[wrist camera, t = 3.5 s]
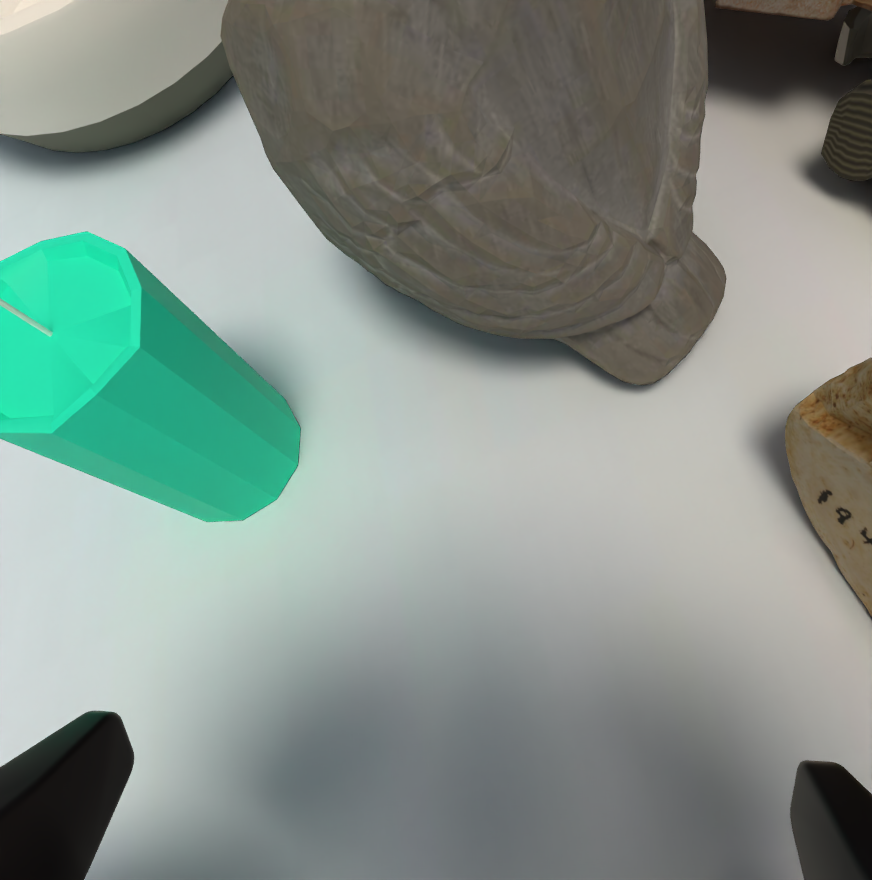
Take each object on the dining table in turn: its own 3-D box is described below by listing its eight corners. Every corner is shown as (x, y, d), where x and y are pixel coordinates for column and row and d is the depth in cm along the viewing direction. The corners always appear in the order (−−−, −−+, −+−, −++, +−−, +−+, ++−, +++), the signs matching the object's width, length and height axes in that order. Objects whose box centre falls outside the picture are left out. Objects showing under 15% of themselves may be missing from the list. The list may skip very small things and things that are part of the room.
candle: (143, 506, 26) (-166, 388, 15) (196, 373, 28) (-50, 181, 17) (273, 538, 25) (33, 433, 14) (320, 396, 27) (139, 199, 15)
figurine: (498, 53, 30) (386, -896, 12) (814, 219, 25) (1543, -1128, 6) (287, 260, 29) (-217, -465, 10) (571, 491, 23) (574, -231, 5)
